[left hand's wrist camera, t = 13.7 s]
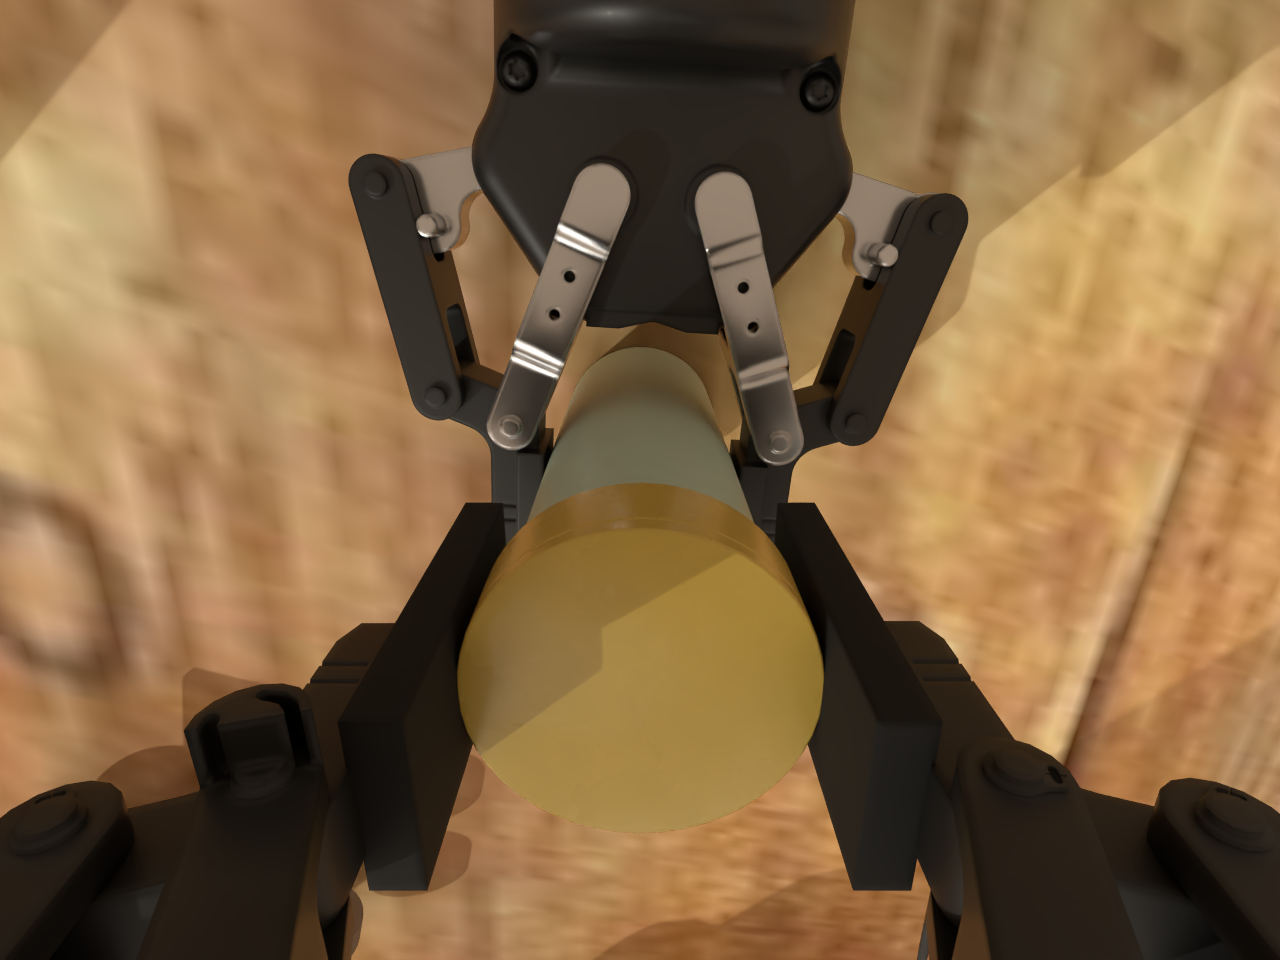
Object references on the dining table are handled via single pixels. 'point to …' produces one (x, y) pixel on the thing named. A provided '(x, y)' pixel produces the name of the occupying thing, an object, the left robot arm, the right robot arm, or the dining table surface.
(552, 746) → the lid
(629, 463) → the jar
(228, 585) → the dining table surface
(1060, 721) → the dining table surface
